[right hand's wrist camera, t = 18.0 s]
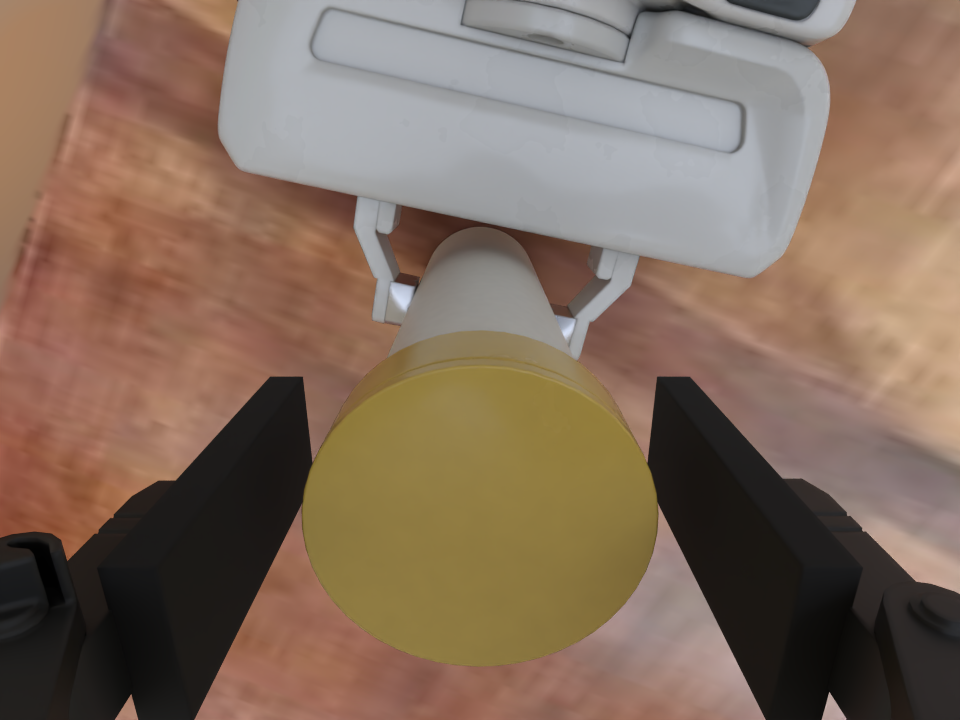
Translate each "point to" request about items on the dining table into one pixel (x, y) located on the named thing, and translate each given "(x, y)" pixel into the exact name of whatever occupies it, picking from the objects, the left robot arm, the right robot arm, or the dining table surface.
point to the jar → (480, 292)
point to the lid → (479, 502)
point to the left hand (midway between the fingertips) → (476, 337)
